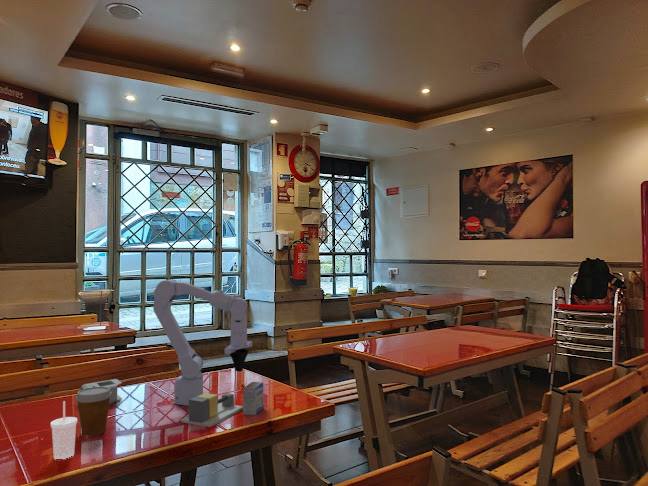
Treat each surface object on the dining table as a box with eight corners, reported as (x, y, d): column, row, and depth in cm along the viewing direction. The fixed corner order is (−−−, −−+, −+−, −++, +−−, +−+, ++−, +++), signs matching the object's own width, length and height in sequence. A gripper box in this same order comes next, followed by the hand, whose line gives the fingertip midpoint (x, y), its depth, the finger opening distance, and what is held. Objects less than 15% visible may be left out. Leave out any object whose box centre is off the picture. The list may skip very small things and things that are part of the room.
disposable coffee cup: (87, 440, 131) (87, 397, 132) (68, 434, 136) (68, 392, 137) (118, 429, 139) (118, 388, 140) (99, 423, 144) (99, 384, 145)
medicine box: (255, 415, 150) (255, 388, 150) (242, 415, 151) (242, 387, 151) (263, 408, 158) (263, 382, 158) (251, 407, 159) (251, 381, 159)
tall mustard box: (196, 415, 147) (196, 396, 148) (204, 411, 151) (204, 393, 151) (209, 418, 145) (209, 398, 146) (217, 413, 149) (217, 394, 149)
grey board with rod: (181, 422, 145) (181, 398, 145) (216, 404, 162) (216, 383, 162) (210, 427, 141) (210, 402, 141) (243, 408, 157) (243, 387, 157)
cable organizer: (87, 390, 158) (124, 383, 166) (78, 382, 168) (113, 376, 175) (87, 410, 158) (124, 402, 166) (78, 401, 168) (113, 394, 175)
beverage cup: (44, 459, 120) (44, 403, 120) (65, 449, 125) (65, 396, 126) (62, 462, 117) (62, 406, 118) (82, 453, 123) (82, 399, 123)
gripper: (236, 336, 159) (236, 376, 158) (259, 329, 172) (259, 367, 172) (219, 335, 161) (219, 374, 161) (242, 328, 175) (243, 365, 174)
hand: (239, 370), depth 167 cm, fingers closed
